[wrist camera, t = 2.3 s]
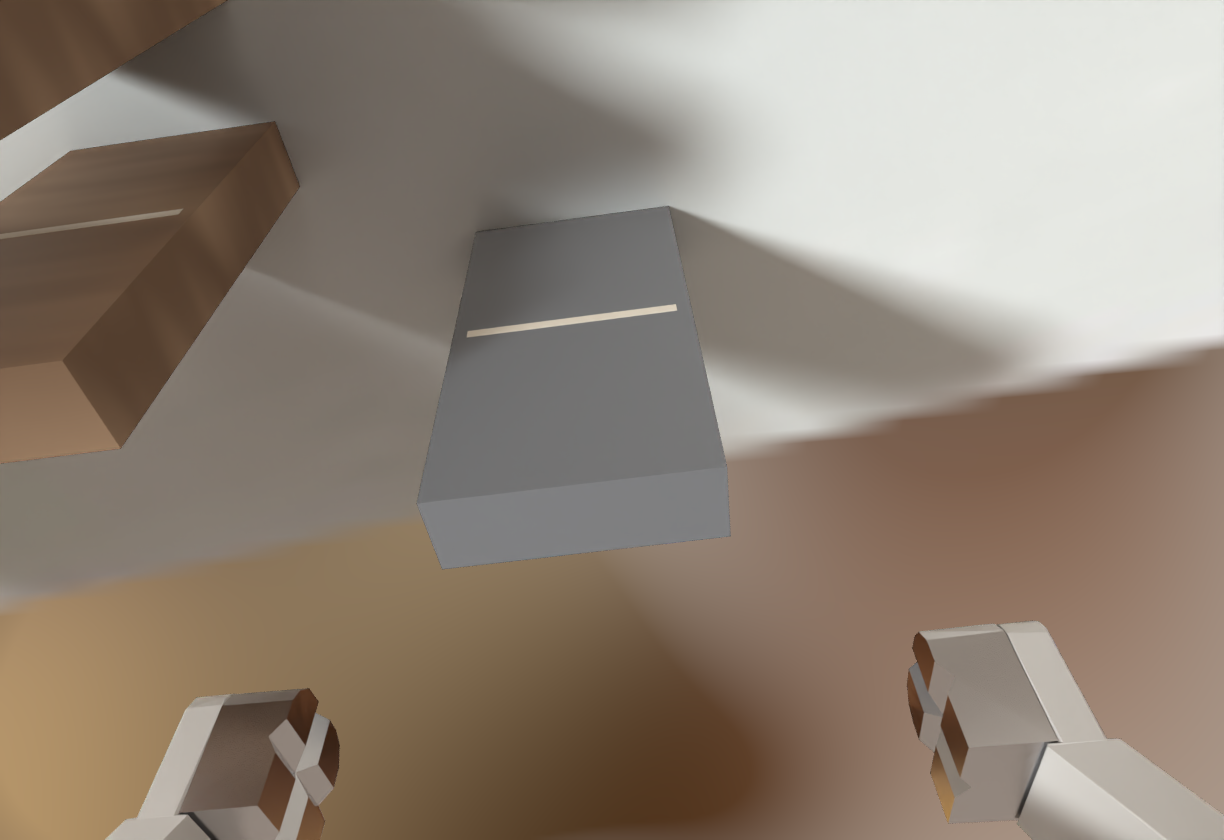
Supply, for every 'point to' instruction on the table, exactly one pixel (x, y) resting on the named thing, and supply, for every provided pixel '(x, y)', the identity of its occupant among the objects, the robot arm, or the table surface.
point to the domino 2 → (122, 277)
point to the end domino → (574, 399)
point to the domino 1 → (75, 46)
